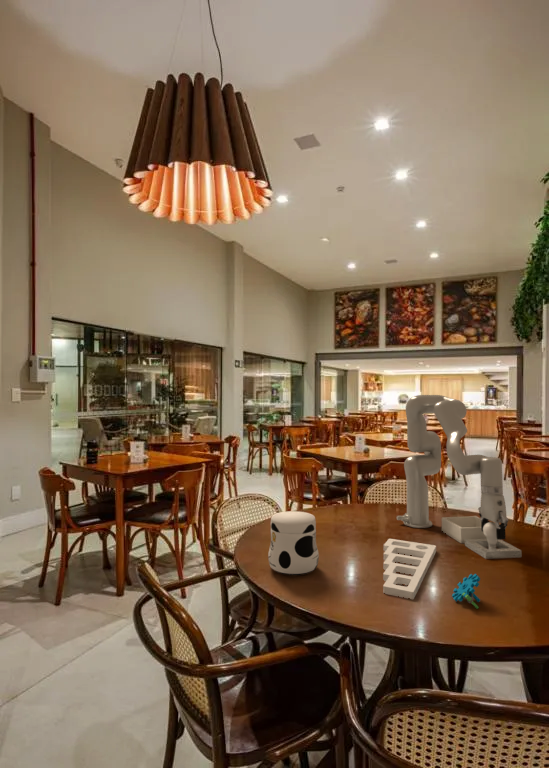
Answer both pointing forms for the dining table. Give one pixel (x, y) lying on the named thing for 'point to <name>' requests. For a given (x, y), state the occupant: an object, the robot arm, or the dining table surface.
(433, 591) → the dining table surface
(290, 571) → the milk container
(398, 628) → the dining table surface
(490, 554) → the socket collar
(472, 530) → the bin
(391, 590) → the holder
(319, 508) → the dining table surface
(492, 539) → the lightbulb
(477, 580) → the blue lumpy piece
